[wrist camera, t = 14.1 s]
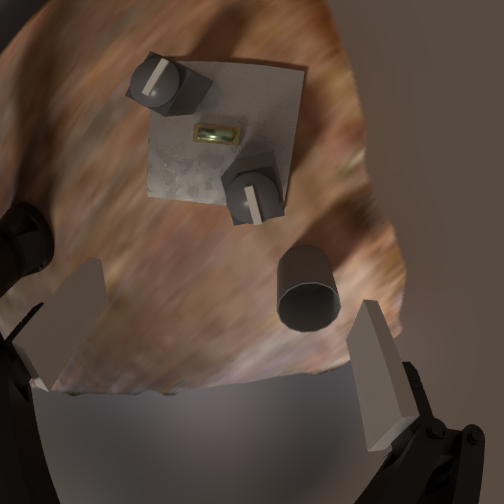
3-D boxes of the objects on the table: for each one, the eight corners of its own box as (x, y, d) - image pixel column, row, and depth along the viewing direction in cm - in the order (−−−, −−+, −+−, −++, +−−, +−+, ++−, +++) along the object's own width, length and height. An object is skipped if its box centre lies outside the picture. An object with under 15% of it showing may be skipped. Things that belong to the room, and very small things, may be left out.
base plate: (149, 194, 41) (147, 196, 41) (158, 63, 32) (155, 62, 31) (282, 211, 41) (282, 213, 40) (303, 72, 32) (304, 71, 31)
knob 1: (191, 114, 35) (159, 117, 24) (159, 96, 33) (118, 95, 23) (213, 81, 32) (188, 69, 22) (180, 63, 31) (144, 49, 21)
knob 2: (233, 160, 37) (217, 180, 27) (273, 151, 36) (272, 167, 26) (244, 198, 40) (232, 230, 29) (282, 190, 39) (284, 220, 28)
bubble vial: (195, 140, 36) (190, 142, 34) (197, 123, 35) (191, 124, 33) (239, 144, 36) (237, 146, 34) (241, 127, 35) (239, 128, 33)
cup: (266, 267, 46) (263, 306, 37) (307, 235, 43) (314, 270, 34) (300, 299, 48) (304, 341, 39) (339, 271, 45) (352, 310, 36)
